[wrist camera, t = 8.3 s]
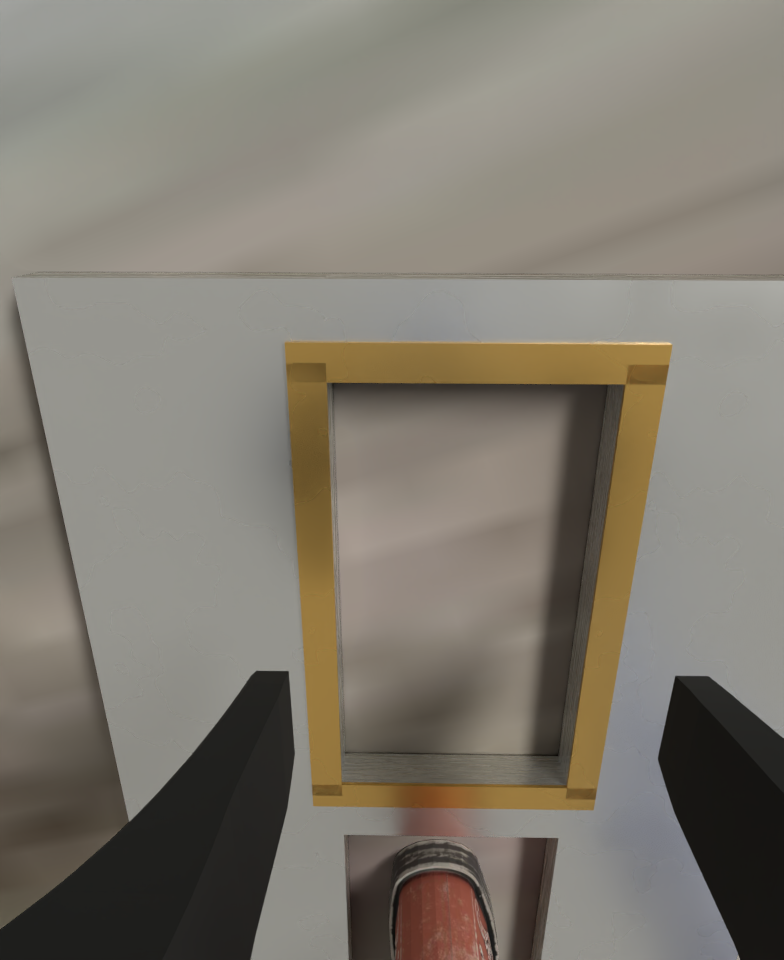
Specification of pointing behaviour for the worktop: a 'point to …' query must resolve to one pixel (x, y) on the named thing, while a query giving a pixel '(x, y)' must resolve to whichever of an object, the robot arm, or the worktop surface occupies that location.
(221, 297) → the rail plate
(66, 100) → the worktop surface
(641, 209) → the worktop surface
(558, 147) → the worktop surface
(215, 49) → the worktop surface
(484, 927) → the lighter
